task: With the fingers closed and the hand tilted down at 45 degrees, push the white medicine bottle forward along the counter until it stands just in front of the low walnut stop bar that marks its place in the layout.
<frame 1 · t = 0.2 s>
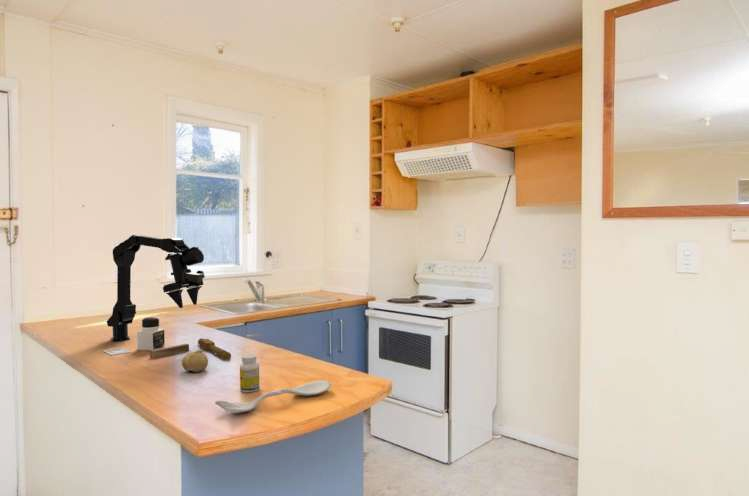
hand: (188, 306, 199), 15 cm above the worktop, tool pointing down, fingers open, 9 cm apart
onion: (195, 371, 162), on the worktop
supplement bottle: (249, 390, 142), on the worktop
spoon: (279, 403, 132), on the worktop
stop bar: (170, 354, 184), on the worktop
medicine bottle: (151, 348, 193), on the worktop
tap handle: (213, 353, 188), on the worktop
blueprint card: (116, 351, 188), on the worktop
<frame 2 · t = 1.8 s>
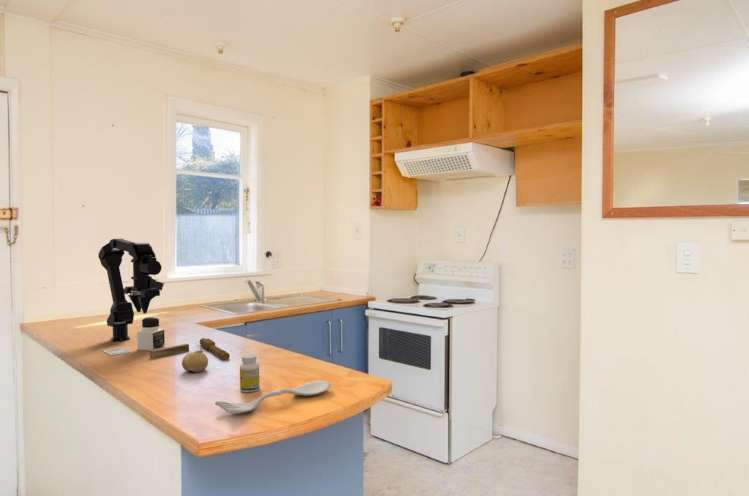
hand: (142, 312, 199), 13 cm above the worktop, tool pointing down, fingers open, 5 cm apart
nothing on the worktop moved.
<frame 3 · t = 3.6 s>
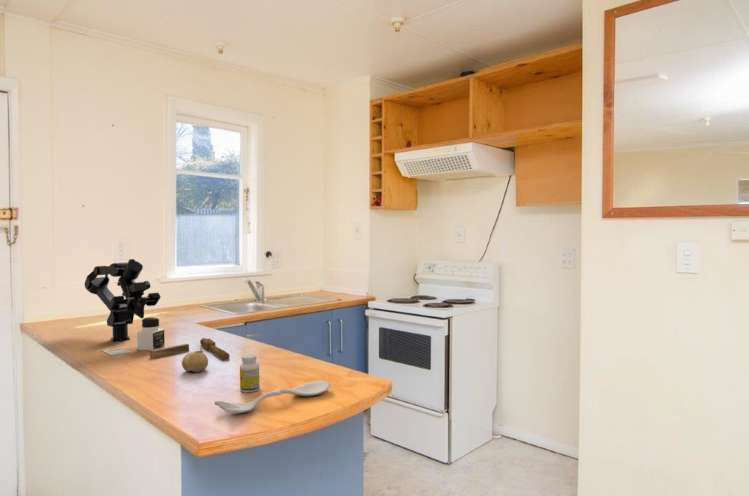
hand: (142, 317, 197), 11 cm above the worktop, tool tilted 45°, fingers closed
nothing on the worktop moved.
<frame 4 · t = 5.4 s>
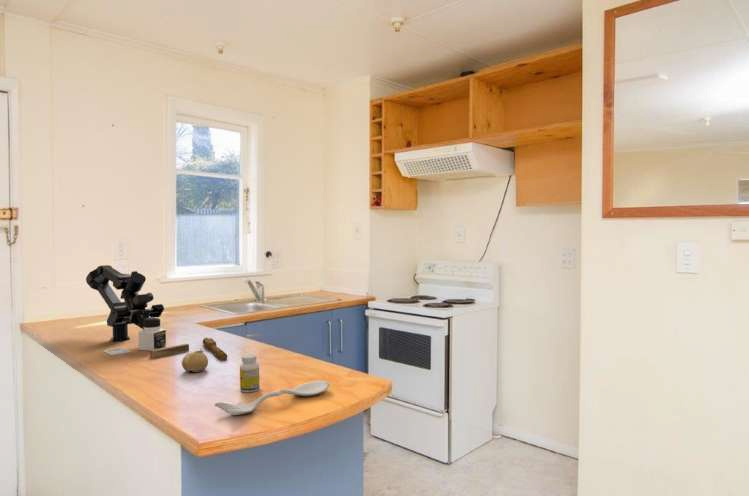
hand: (146, 329, 195), 7 cm above the worktop, tool tilted 45°, fingers closed
medicine bottle: (152, 349, 193), on the worktop, touching gripper
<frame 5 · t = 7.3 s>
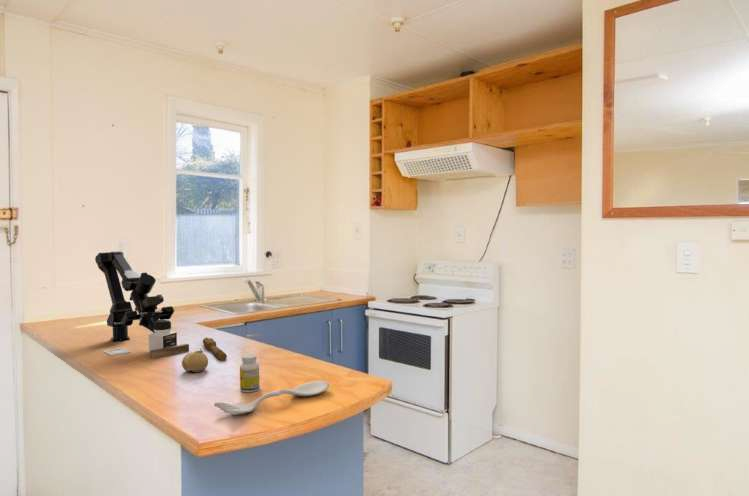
hand: (156, 332, 190), 7 cm above the worktop, tool tilted 45°, fingers closed
medicine bottle: (163, 352, 188), on the worktop
everything else where it was.
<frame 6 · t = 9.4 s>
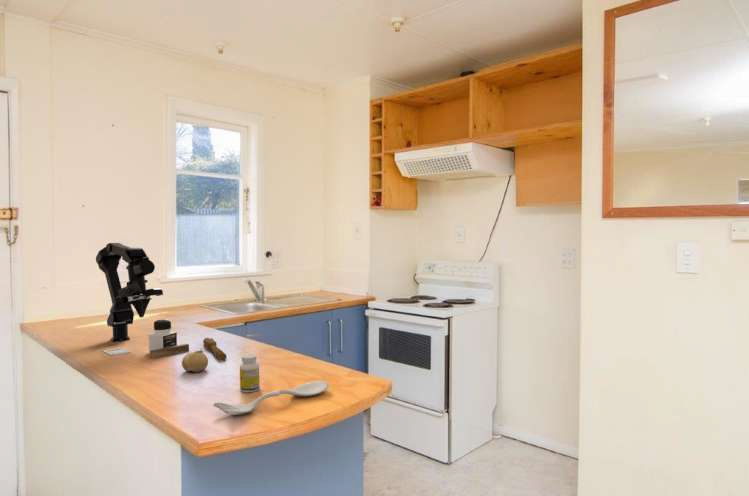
hand: (141, 317, 196), 12 cm above the worktop, tool pointing down, fingers closed
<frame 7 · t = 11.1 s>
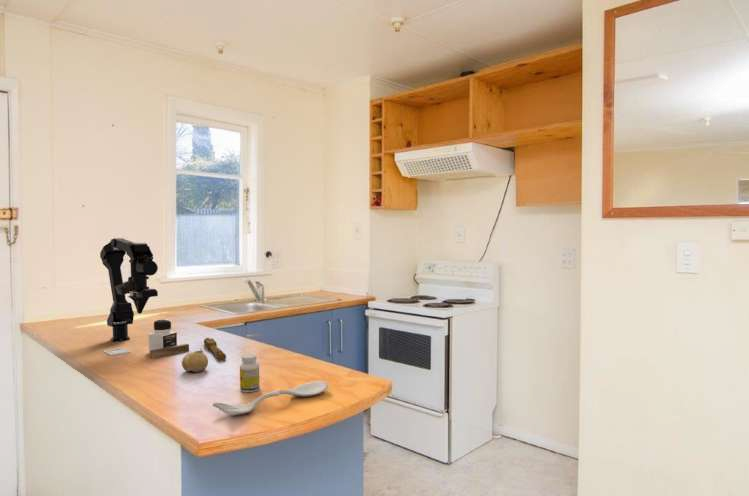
hand: (139, 313, 197), 13 cm above the worktop, tool pointing down, fingers closed
at the end: medicine bottle inside the target area on the worktop beside the stop bar (0.8 cm from its centre), on the worktop; medicine bottle moved 8.5 cm from its start; medicine bottle tilted 0° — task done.
